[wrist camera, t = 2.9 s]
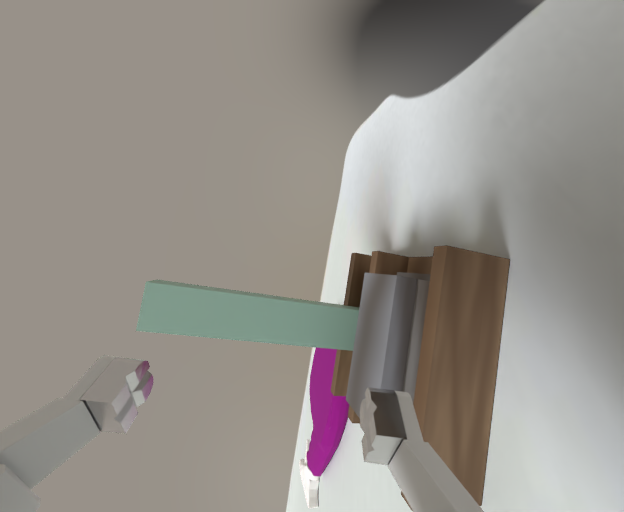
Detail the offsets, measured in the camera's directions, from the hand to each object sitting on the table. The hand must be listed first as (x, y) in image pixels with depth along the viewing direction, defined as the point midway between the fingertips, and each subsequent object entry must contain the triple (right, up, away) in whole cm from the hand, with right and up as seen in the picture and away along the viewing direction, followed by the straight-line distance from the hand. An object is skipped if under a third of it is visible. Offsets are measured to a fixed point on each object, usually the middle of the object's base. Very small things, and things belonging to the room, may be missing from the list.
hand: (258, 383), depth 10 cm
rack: (+11, -2, +11) cm, 16 cm away
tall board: (+9, -2, +15) cm, 18 cm away
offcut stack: (+10, -2, +9) cm, 14 cm away
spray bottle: (+5, -17, +27) cm, 33 cm away
